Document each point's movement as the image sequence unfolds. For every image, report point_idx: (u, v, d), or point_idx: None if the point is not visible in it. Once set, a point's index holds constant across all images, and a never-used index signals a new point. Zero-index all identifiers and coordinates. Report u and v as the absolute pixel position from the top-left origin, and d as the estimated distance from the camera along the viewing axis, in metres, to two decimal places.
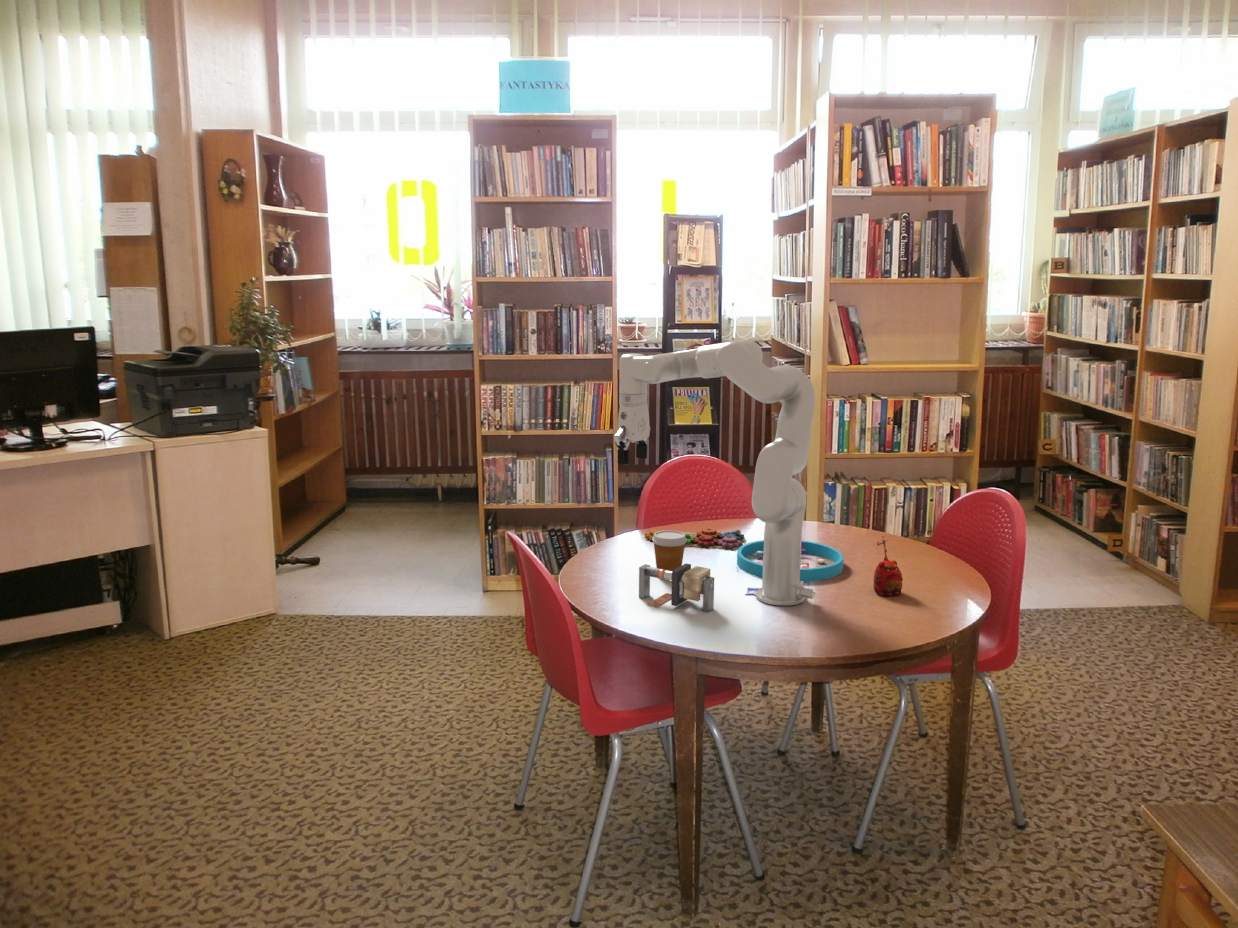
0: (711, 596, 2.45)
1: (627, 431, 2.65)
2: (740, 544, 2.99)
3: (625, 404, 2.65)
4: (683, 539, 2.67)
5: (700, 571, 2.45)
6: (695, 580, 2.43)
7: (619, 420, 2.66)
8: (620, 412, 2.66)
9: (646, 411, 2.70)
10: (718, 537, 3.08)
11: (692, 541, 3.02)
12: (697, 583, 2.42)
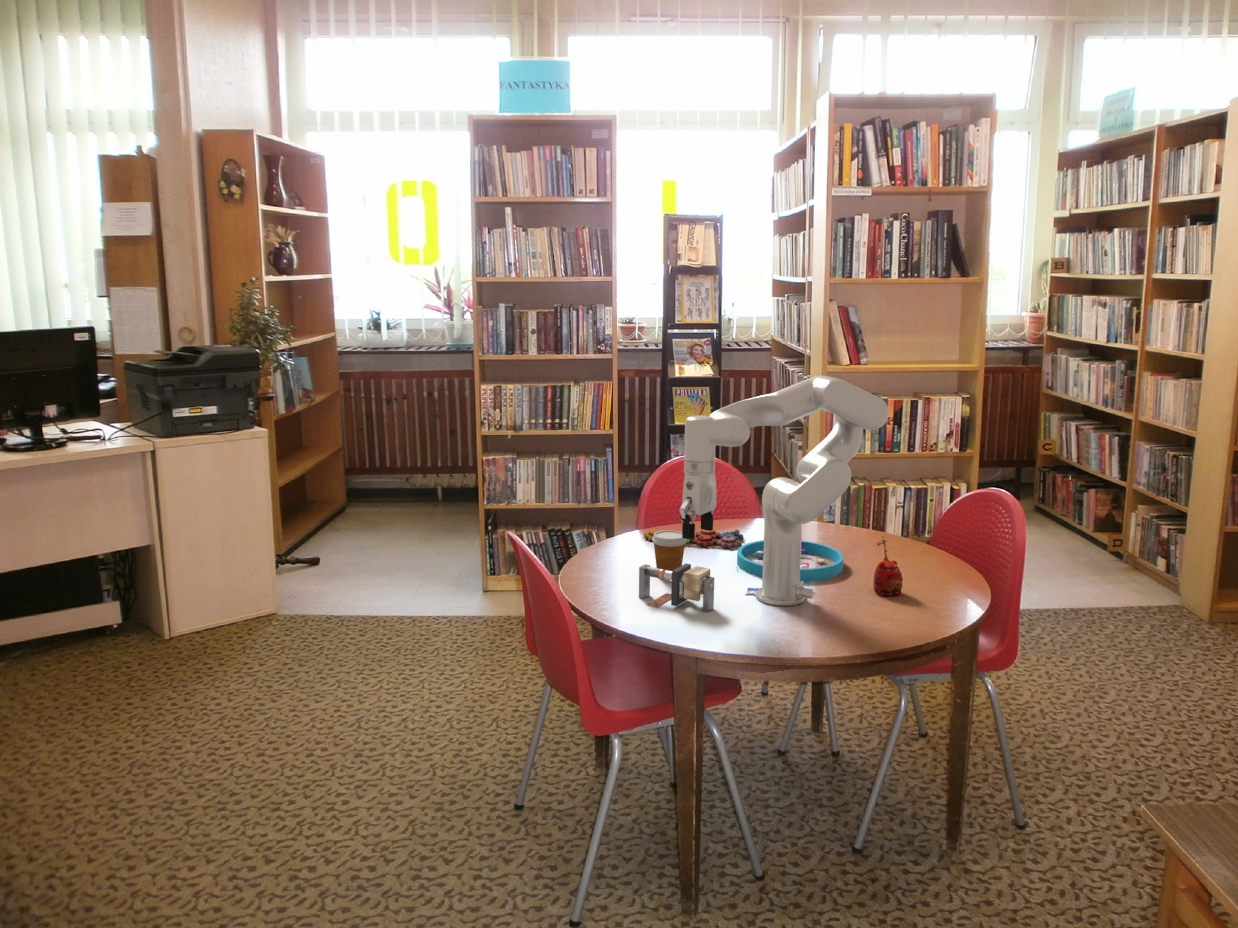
0: (711, 596, 2.45)
1: (693, 503, 2.37)
2: (739, 544, 2.99)
3: (691, 473, 2.37)
4: (683, 539, 2.67)
5: (700, 571, 2.45)
6: (695, 580, 2.43)
7: (684, 490, 2.38)
8: (685, 481, 2.38)
9: (713, 479, 2.42)
10: (717, 537, 3.08)
11: (691, 541, 3.02)
12: (697, 583, 2.42)
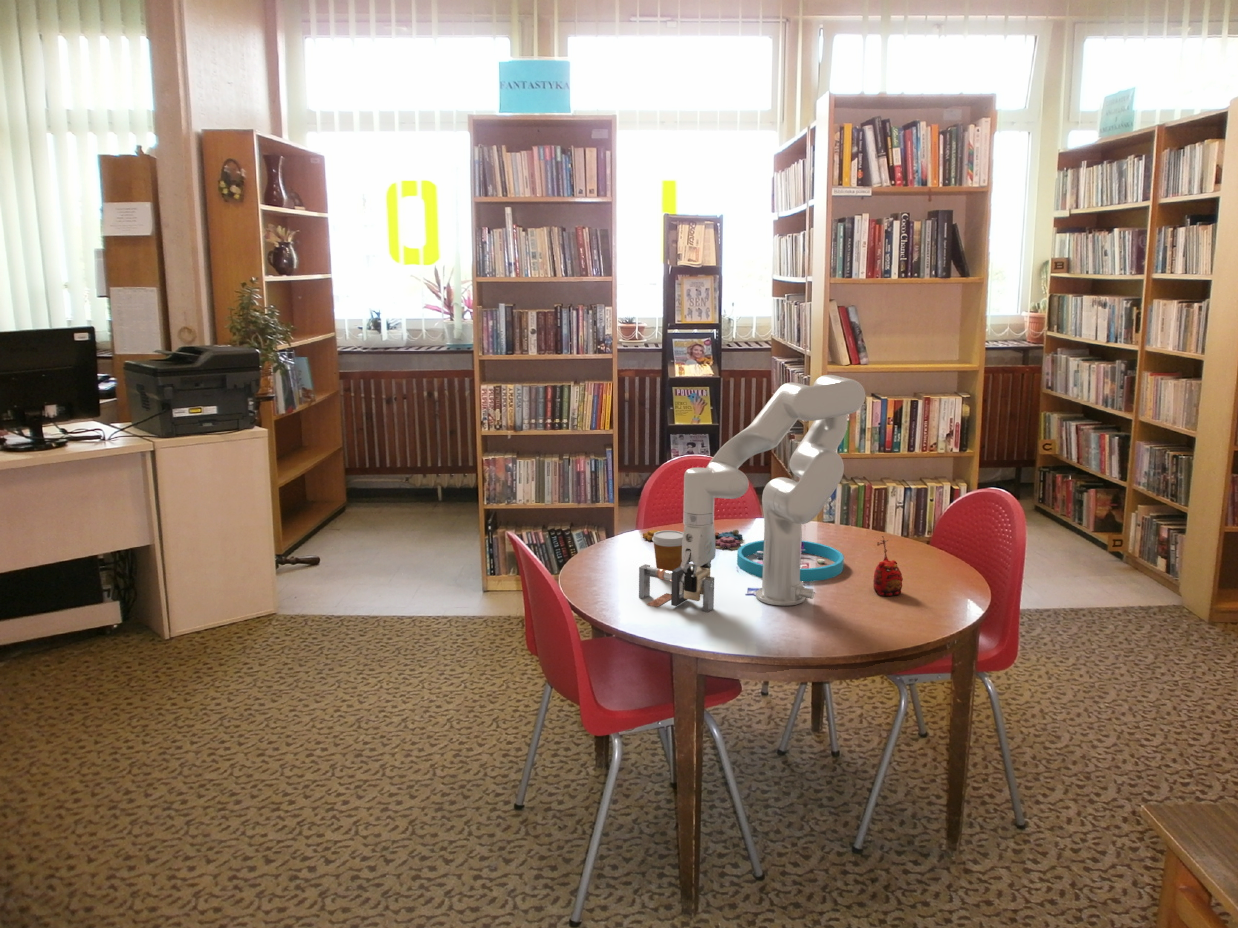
0: (711, 596, 2.45)
1: (693, 555, 2.40)
2: (738, 544, 2.99)
3: (690, 525, 2.40)
4: None
5: (700, 571, 2.45)
6: None
7: (684, 542, 2.41)
8: (685, 533, 2.40)
9: (712, 530, 2.45)
10: (716, 537, 3.08)
11: None
12: (697, 583, 2.42)
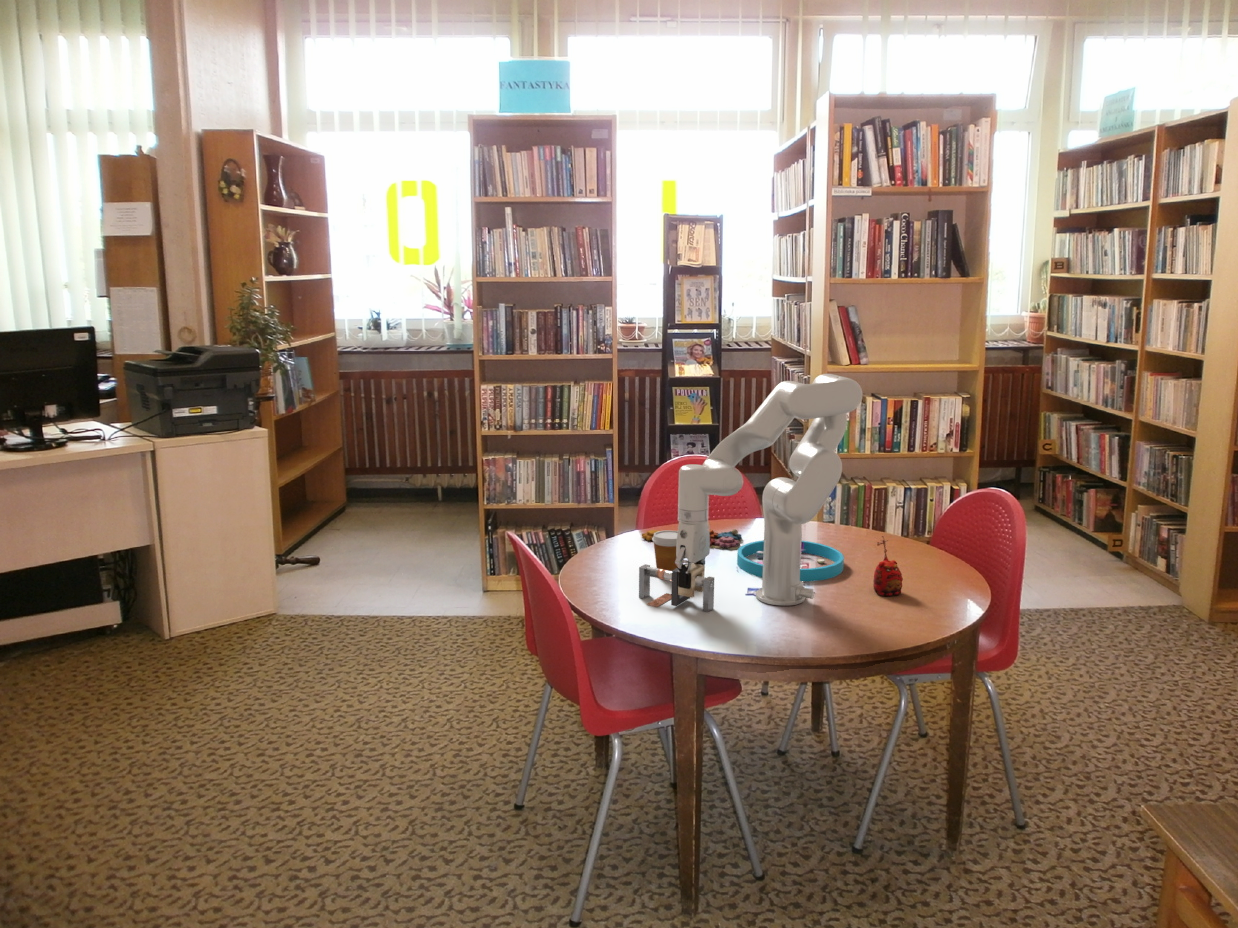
0: (711, 596, 2.45)
1: (687, 551, 2.40)
2: (737, 544, 2.99)
3: (685, 521, 2.41)
4: None
5: (694, 568, 2.45)
6: None
7: (678, 538, 2.41)
8: (679, 530, 2.41)
9: (707, 527, 2.45)
10: (715, 537, 3.08)
11: None
12: (692, 579, 2.43)
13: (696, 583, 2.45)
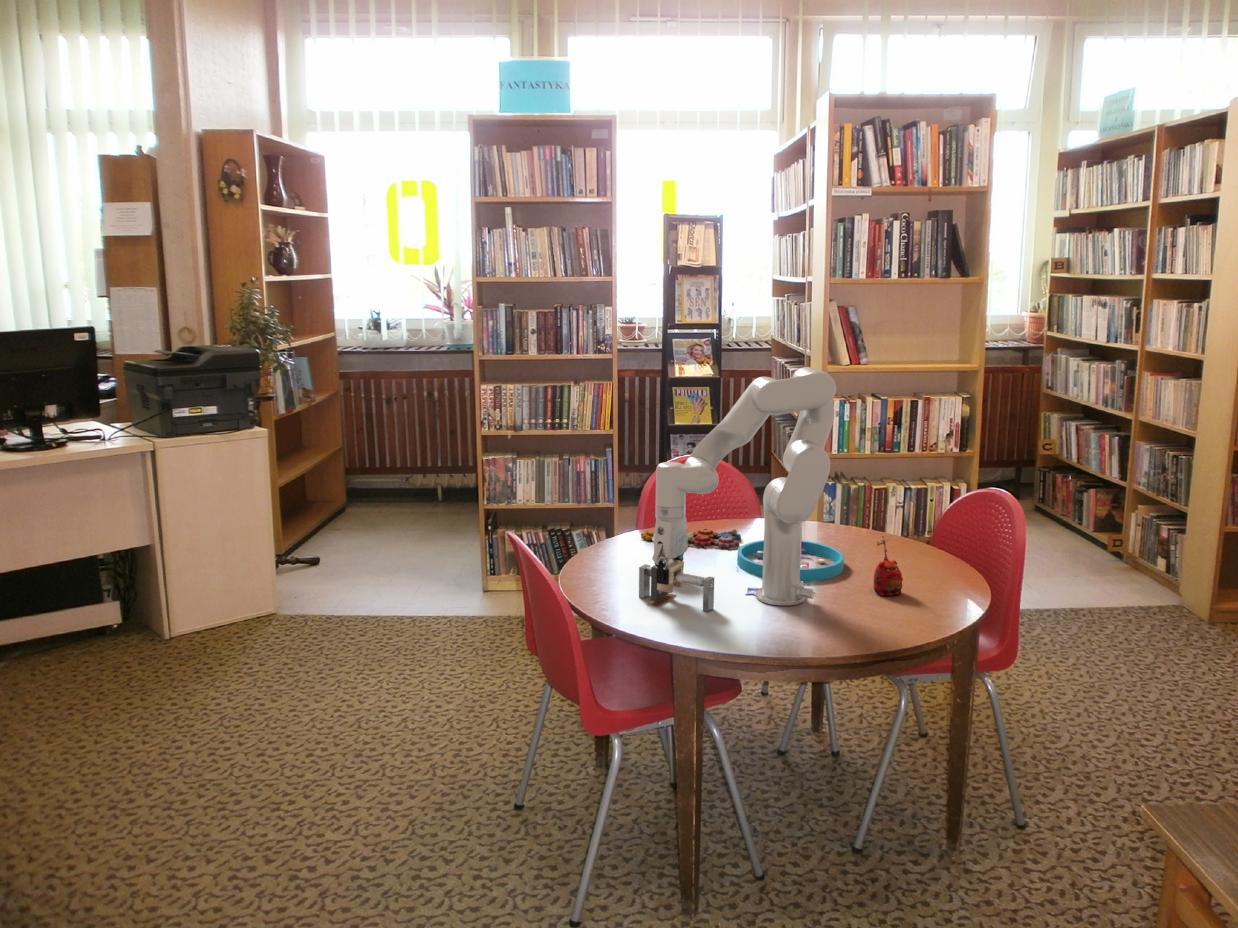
0: (711, 596, 2.45)
1: (664, 547, 2.44)
2: (736, 544, 2.99)
3: (662, 518, 2.44)
4: None
5: (673, 564, 2.48)
6: None
7: (656, 535, 2.45)
8: (657, 526, 2.44)
9: (684, 523, 2.49)
10: (714, 537, 3.08)
11: (688, 541, 3.02)
12: (670, 575, 2.46)
13: (696, 583, 2.45)
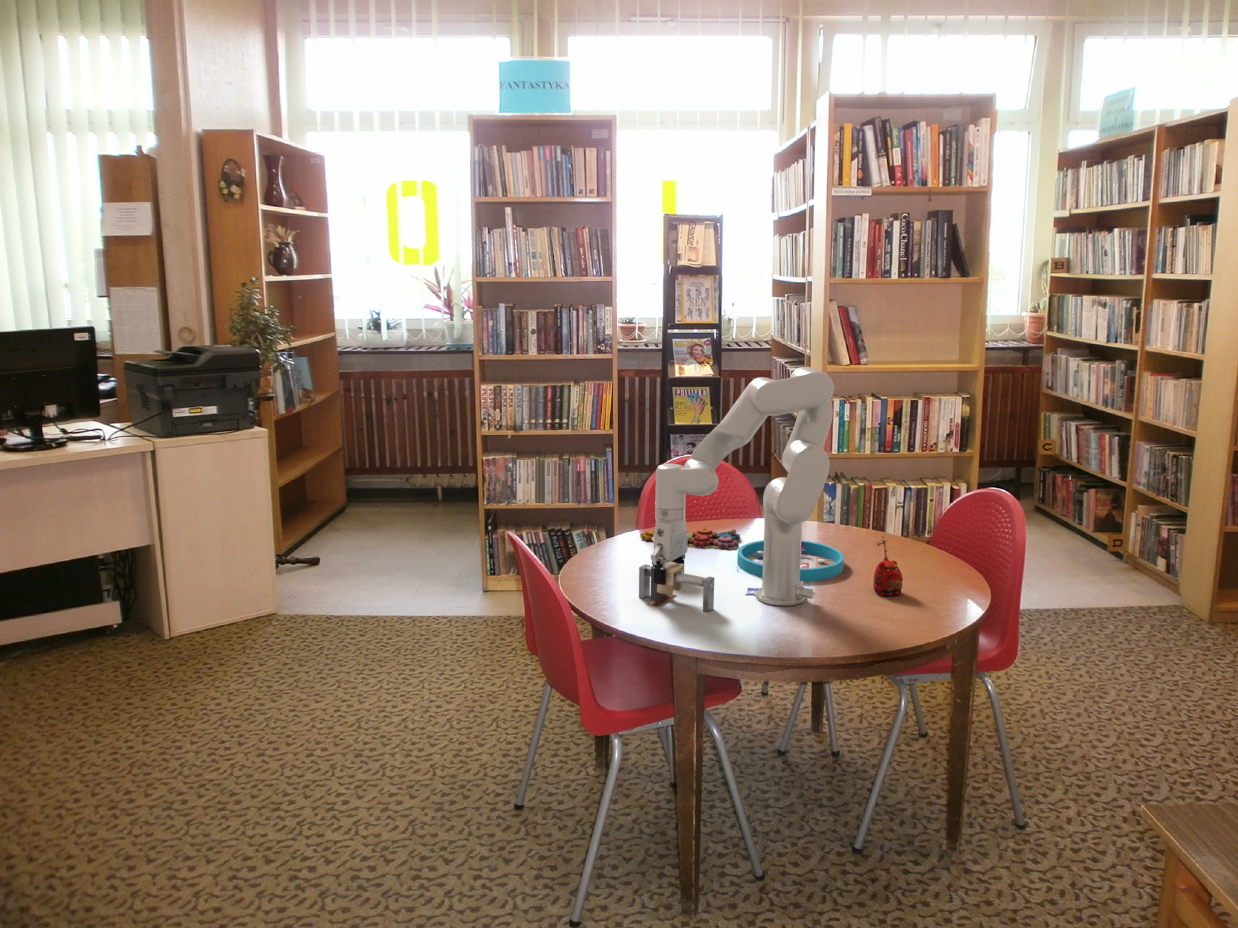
0: (711, 596, 2.45)
1: (664, 549, 2.44)
2: (736, 544, 2.99)
3: (662, 520, 2.44)
4: None
5: (673, 566, 2.49)
6: (668, 574, 2.47)
7: (655, 537, 2.45)
8: (656, 528, 2.44)
9: (684, 525, 2.49)
10: (714, 537, 3.08)
11: (688, 541, 3.02)
12: (670, 577, 2.46)
13: (696, 583, 2.45)
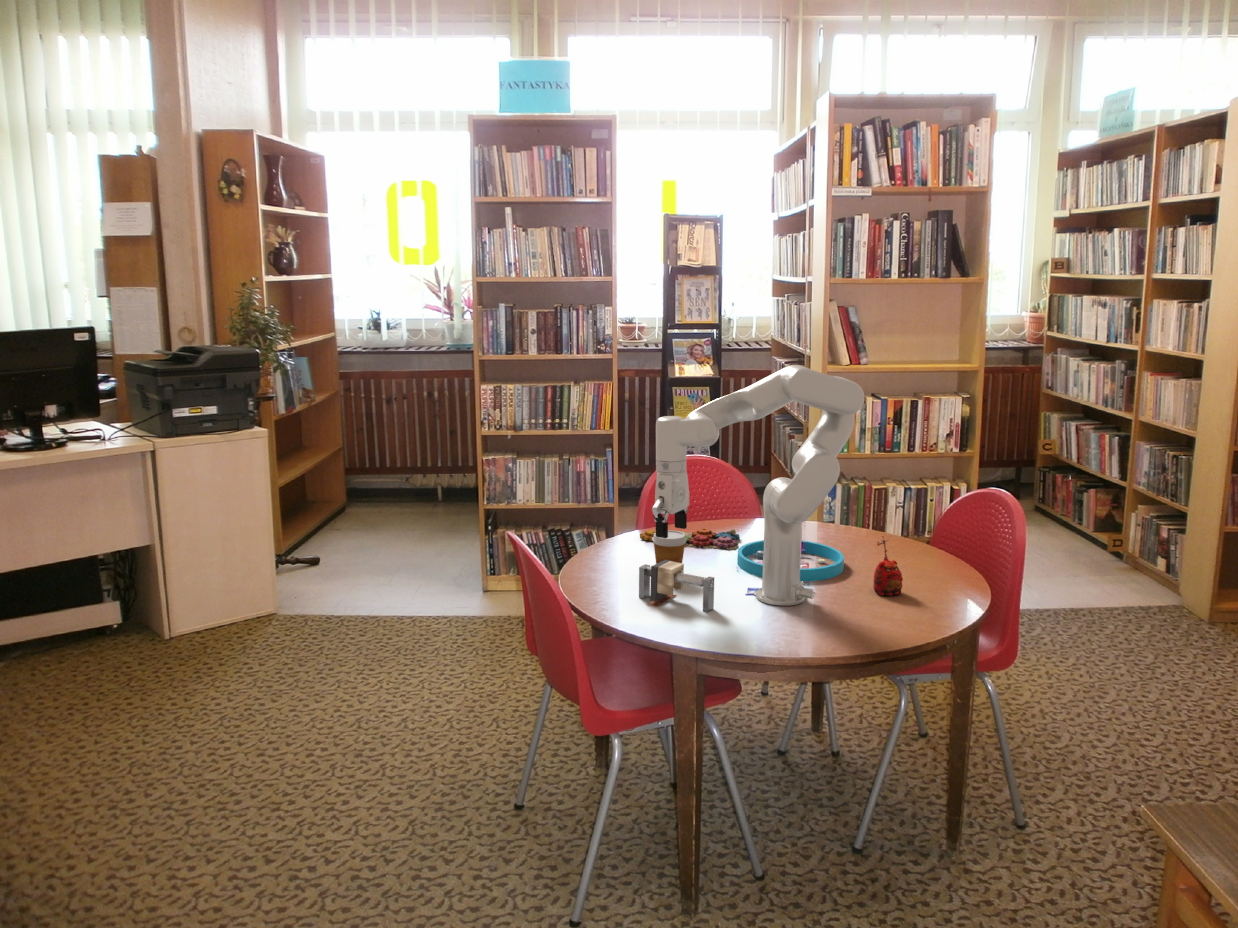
0: (711, 596, 2.45)
1: (666, 502, 2.41)
2: (735, 544, 3.00)
3: (663, 472, 2.42)
4: (683, 539, 2.67)
5: (673, 566, 2.49)
6: (668, 574, 2.47)
7: (657, 490, 2.42)
8: (657, 481, 2.42)
9: (685, 478, 2.46)
10: (713, 537, 3.08)
11: (687, 541, 3.02)
12: (670, 577, 2.46)
13: (696, 583, 2.45)
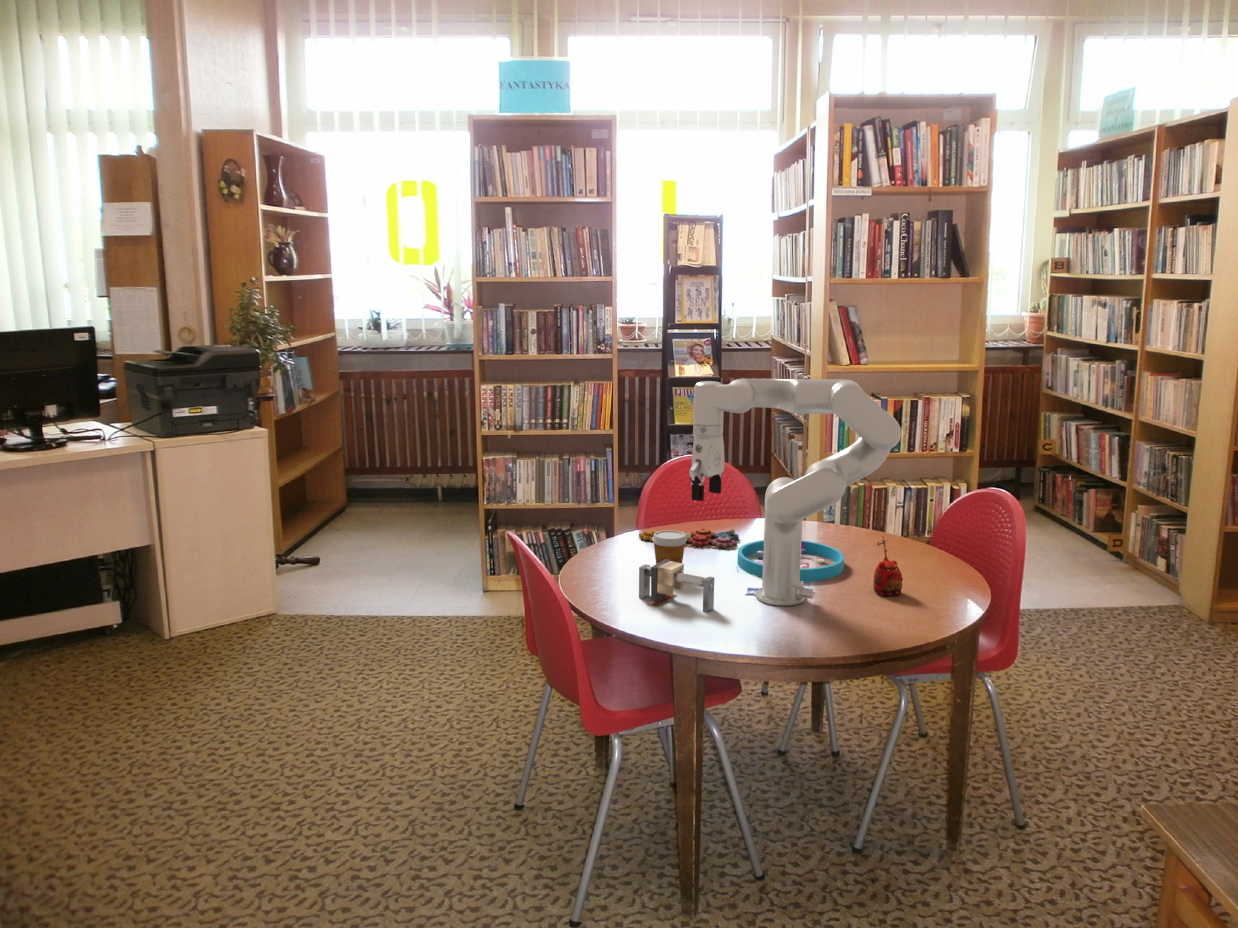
0: (711, 596, 2.45)
1: (703, 465, 2.45)
2: (734, 544, 3.00)
3: (700, 436, 2.46)
4: (683, 539, 2.67)
5: (673, 566, 2.49)
6: (668, 574, 2.47)
7: (694, 453, 2.46)
8: (695, 445, 2.46)
9: (721, 443, 2.50)
10: (712, 537, 3.08)
11: (686, 541, 3.02)
12: (670, 577, 2.46)
13: (696, 583, 2.45)
